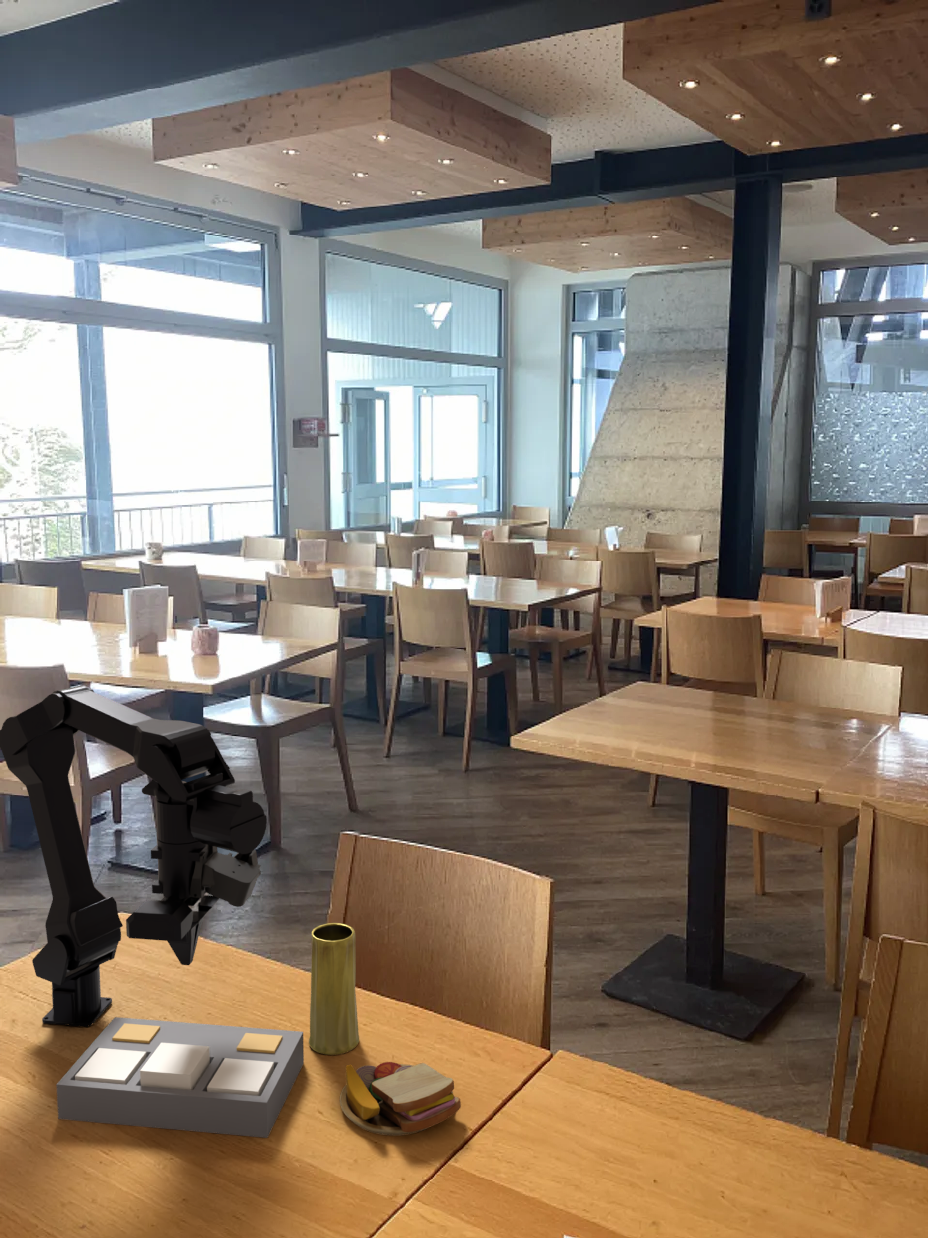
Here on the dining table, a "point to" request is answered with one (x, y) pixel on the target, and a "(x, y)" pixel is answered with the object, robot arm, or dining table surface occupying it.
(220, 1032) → the key panel
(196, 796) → the robot arm
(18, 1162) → the dining table surface
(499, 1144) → the dining table surface
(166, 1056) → the key middle
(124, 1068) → the key
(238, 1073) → the key
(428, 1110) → the toy sandwich meal
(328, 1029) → the vase
